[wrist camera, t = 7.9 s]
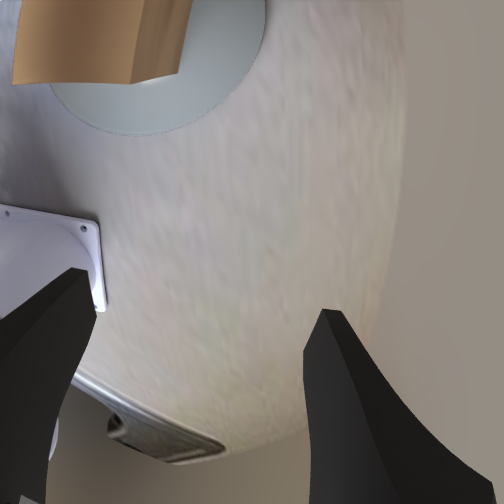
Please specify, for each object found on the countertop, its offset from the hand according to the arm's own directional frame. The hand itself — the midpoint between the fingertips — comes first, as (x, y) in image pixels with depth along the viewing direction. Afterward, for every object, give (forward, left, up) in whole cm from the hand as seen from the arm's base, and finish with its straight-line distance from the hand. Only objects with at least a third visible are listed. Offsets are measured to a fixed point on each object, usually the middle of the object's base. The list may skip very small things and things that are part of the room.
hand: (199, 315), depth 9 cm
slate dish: (-6, +8, -10) cm, 14 cm away
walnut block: (-6, +8, -9) cm, 13 cm away
